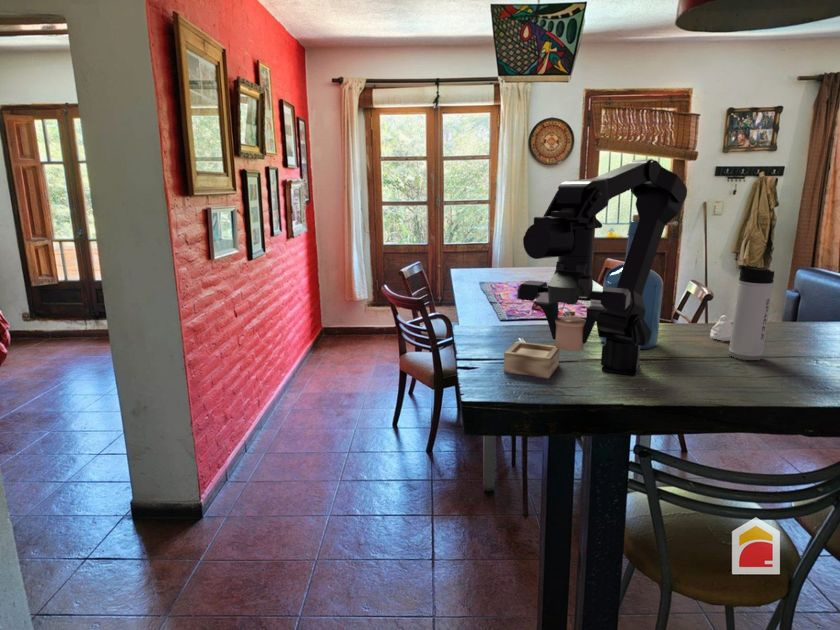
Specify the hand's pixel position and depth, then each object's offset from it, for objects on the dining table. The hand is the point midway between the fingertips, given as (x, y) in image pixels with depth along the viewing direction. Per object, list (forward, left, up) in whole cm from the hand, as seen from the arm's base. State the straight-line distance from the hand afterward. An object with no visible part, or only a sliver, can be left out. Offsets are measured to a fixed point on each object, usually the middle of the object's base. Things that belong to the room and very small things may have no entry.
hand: (569, 341), depth 97 cm
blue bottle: (-5, -36, -9) cm, 38 cm away
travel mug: (-29, -37, -9) cm, 48 cm away
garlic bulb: (-25, -51, -9) cm, 58 cm away
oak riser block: (+9, -7, -9) cm, 15 cm away
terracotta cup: (0, 0, -1) cm, 1 cm away
